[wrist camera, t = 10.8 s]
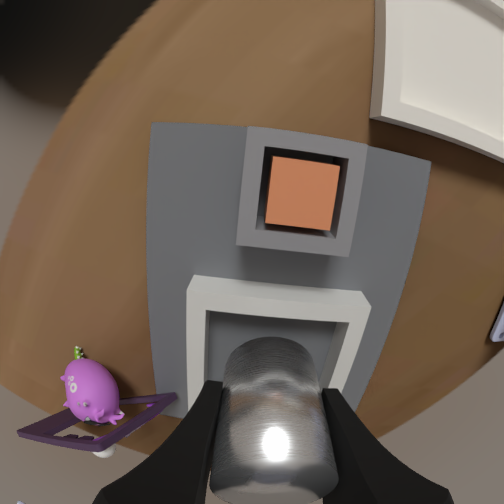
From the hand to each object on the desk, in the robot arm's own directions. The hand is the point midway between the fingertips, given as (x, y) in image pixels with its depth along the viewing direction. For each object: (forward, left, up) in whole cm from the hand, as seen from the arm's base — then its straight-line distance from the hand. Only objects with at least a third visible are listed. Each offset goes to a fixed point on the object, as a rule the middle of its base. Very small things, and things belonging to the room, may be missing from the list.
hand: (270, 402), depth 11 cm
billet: (0, 0, -2) cm, 2 cm away
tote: (-8, -17, -4) cm, 19 cm away
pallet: (0, -2, -4) cm, 5 cm away
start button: (0, -8, -3) cm, 9 cm away
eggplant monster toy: (+9, +4, -4) cm, 11 cm away
